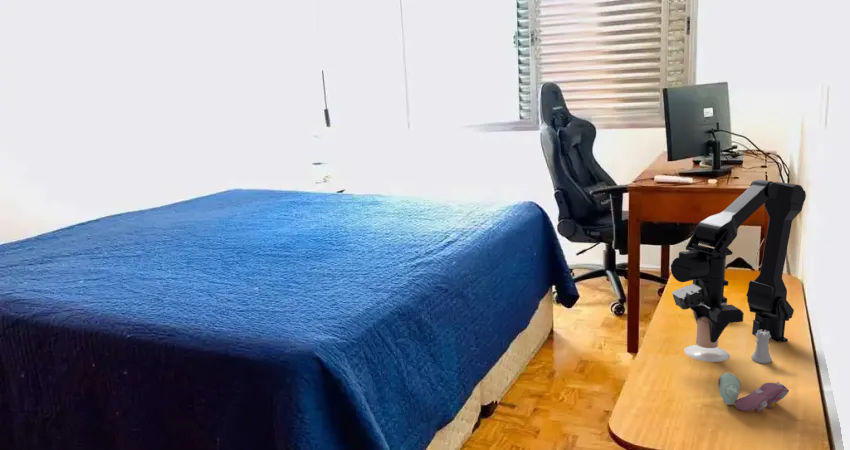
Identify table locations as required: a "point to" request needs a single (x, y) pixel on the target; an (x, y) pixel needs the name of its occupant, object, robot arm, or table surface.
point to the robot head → (729, 388)
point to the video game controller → (762, 397)
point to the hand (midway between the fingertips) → (707, 338)
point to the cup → (704, 334)
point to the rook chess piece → (762, 347)
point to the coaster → (707, 353)
